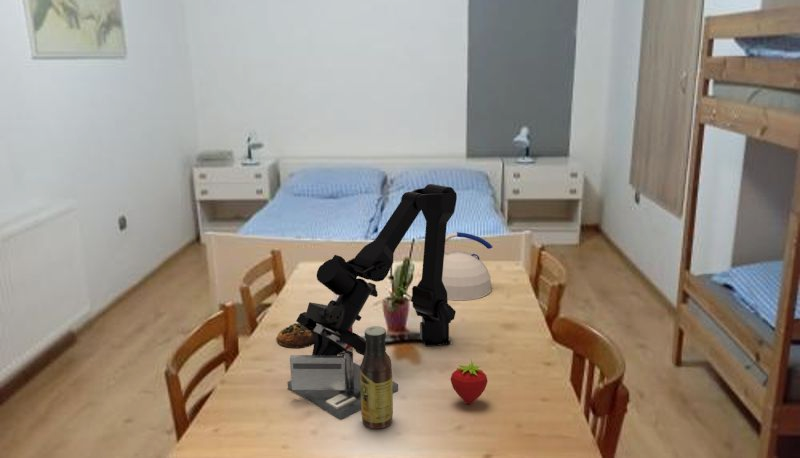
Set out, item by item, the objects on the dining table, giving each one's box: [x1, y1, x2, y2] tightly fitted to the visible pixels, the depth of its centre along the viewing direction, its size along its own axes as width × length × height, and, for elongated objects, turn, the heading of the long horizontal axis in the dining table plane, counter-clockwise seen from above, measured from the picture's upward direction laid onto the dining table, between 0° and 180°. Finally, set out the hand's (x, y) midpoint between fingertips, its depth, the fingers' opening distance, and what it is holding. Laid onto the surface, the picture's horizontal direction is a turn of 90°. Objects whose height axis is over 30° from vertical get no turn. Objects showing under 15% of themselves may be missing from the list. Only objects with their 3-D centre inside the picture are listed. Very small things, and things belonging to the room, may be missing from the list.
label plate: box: [326, 394, 356, 409], centre depth 132 cm, size 5×4×1 cm
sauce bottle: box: [360, 325, 394, 430], centre depth 124 cm, size 6×6×20 cm
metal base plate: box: [287, 361, 399, 421], centre depth 139 cm, size 16×18×2 cm
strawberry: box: [450, 359, 488, 405], centre depth 132 cm, size 6×8×10 cm
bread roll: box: [275, 322, 314, 349], centre depth 164 cm, size 11×11×5 cm
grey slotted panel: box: [289, 350, 354, 391], centre depth 133 cm, size 13×2×8 cm, turn 87°
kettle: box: [442, 231, 493, 301], centre depth 196 cm, size 20×21×18 cm
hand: (312, 369), depth 135 cm, fingers closed
